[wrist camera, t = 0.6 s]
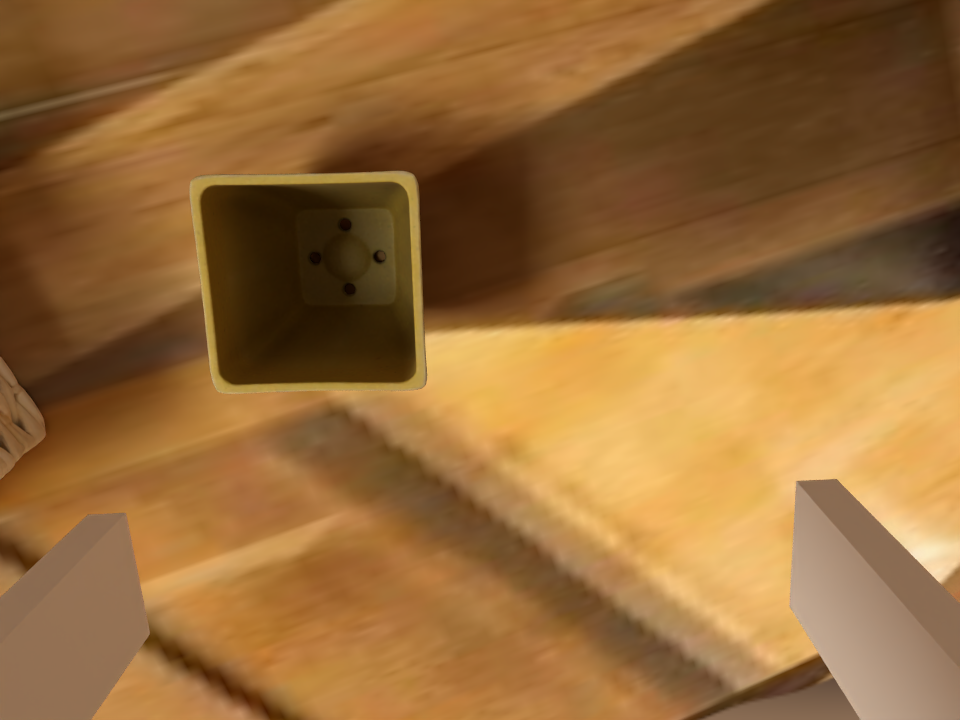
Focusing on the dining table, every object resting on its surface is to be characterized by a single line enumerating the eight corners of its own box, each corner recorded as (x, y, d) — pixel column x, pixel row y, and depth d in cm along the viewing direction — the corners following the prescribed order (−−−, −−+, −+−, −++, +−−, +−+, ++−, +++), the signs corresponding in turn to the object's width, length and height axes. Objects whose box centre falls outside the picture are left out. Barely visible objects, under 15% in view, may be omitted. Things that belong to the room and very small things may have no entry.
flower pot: (435, 163, 39) (418, 170, 30) (442, 338, 41) (426, 392, 32) (255, 167, 39) (186, 175, 30) (271, 341, 41) (211, 395, 32)
